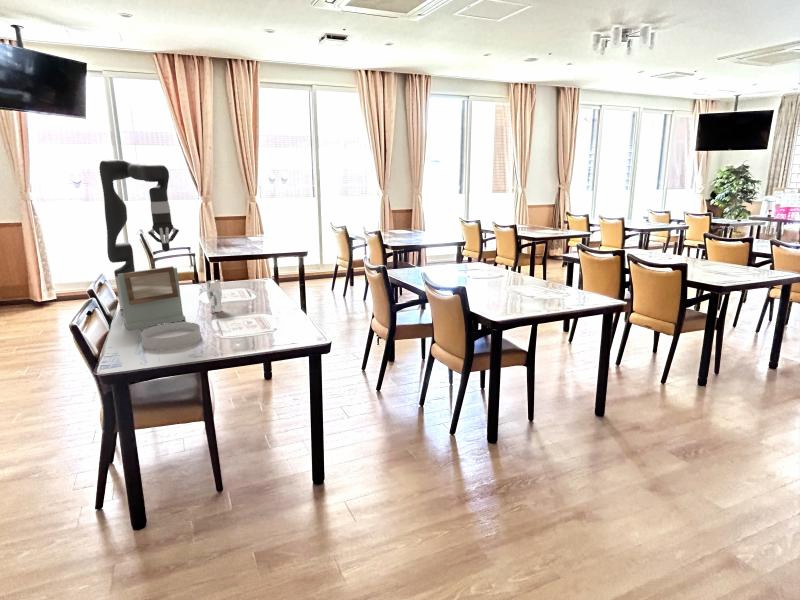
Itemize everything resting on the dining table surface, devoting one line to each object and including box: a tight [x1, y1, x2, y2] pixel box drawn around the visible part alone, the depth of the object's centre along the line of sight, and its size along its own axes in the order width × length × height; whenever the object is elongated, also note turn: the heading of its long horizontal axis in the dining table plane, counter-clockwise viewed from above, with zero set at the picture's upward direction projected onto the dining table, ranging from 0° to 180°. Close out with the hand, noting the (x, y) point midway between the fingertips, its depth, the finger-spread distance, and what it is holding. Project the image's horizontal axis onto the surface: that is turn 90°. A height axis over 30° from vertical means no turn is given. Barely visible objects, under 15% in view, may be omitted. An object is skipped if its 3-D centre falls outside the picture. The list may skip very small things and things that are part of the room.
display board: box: [118, 266, 187, 331], centre depth 232 cm, size 12×24×24 cm, turn 124°
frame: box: [123, 265, 179, 305], centre depth 228 cm, size 2×20×14 cm, turn 124°
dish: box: [140, 321, 202, 350], centre depth 207 cm, size 22×22×5 cm
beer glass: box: [205, 279, 224, 314], centre depth 250 cm, size 7×7×15 cm
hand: (166, 251), depth 228 cm, fingers closed
